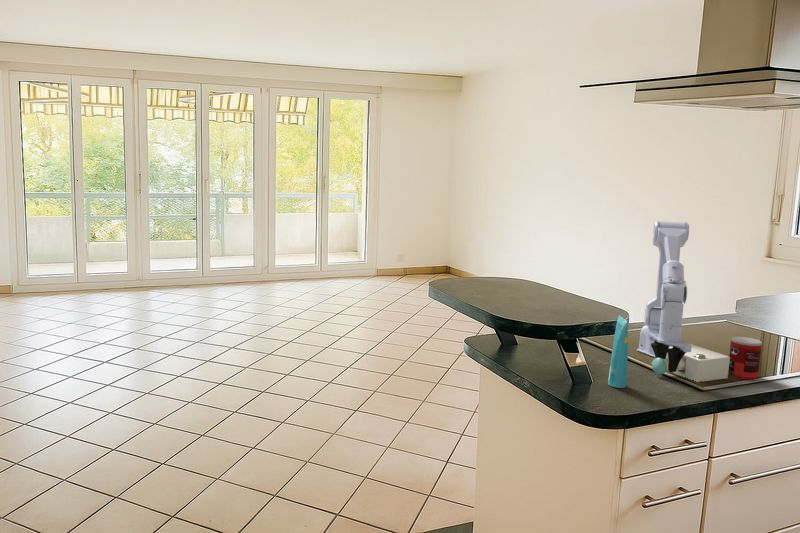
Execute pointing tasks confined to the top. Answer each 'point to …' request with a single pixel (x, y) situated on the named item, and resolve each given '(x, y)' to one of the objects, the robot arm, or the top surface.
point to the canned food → (744, 358)
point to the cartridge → (666, 365)
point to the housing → (704, 365)
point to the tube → (619, 355)
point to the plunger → (700, 356)
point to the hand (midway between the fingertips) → (666, 369)
